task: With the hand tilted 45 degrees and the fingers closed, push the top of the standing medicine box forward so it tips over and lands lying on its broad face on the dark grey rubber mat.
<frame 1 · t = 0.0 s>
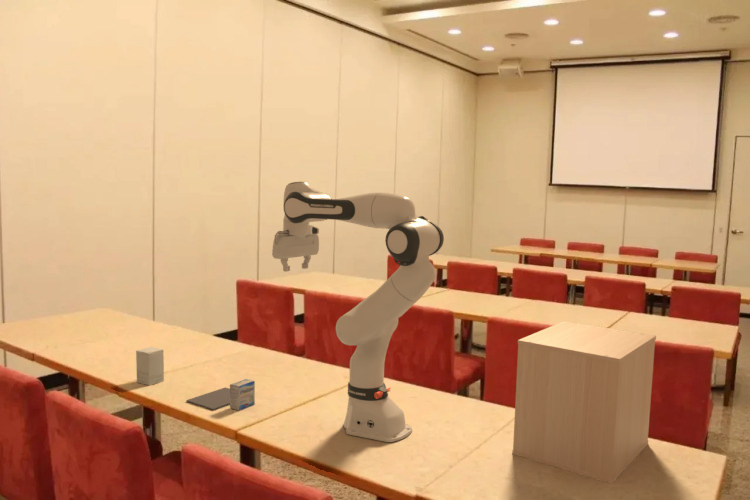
hand: (295, 269, 221), 48 cm above the table, tool pointing down, fingers open, 8 cm apart
medicine box: (242, 407, 224), on the table
supplement box: (150, 382, 248), on the table
cabinet: (581, 449, 196), on the table
mat: (219, 399, 231), on the table
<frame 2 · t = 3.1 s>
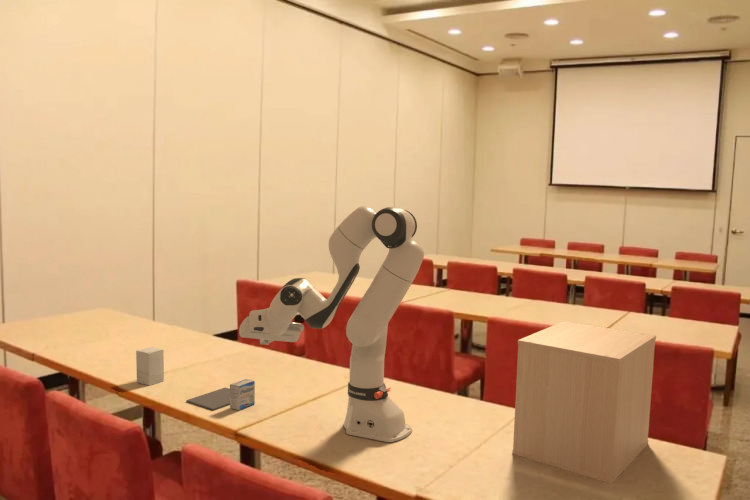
hand: (263, 342, 221), 23 cm above the table, tool tilted 45°, fingers closed
nothing on the table moved.
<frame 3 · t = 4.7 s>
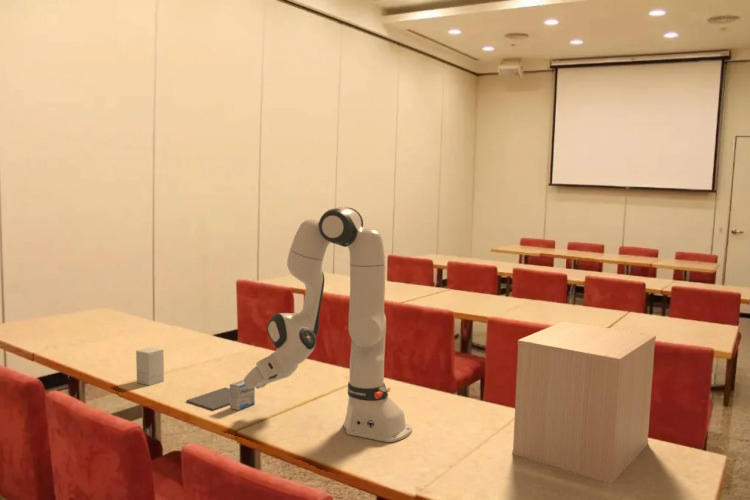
hand: (258, 386, 218), 9 cm above the table, tool tilted 45°, fingers closed
nothing on the table moved.
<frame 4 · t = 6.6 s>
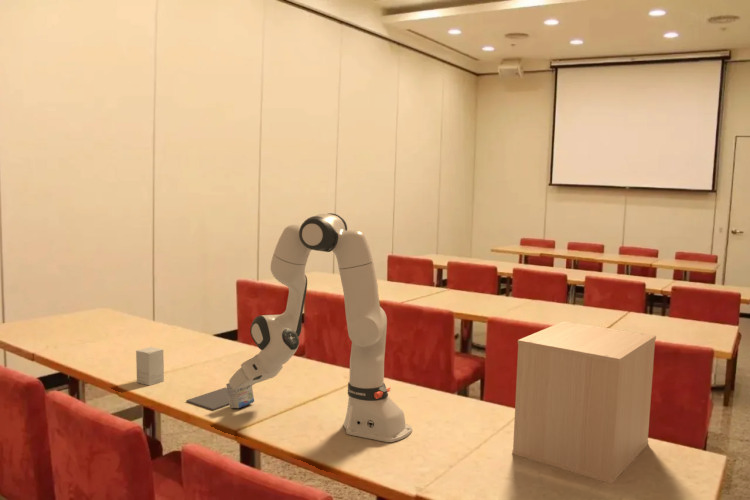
hand: (244, 387, 223), 7 cm above the table, tool tilted 45°, fingers closed
medicine box: (242, 405, 224), on the table, touching gripper
everything else where it was.
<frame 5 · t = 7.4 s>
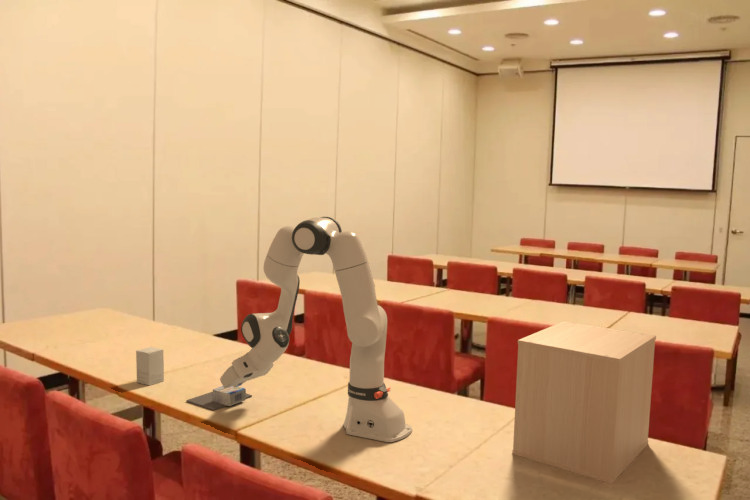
hand: (236, 384, 225), 7 cm above the table, tool tilted 45°, fingers closed
medicine box: (238, 397, 225), point 3 cm above the table, touching mat
everything else where it was.
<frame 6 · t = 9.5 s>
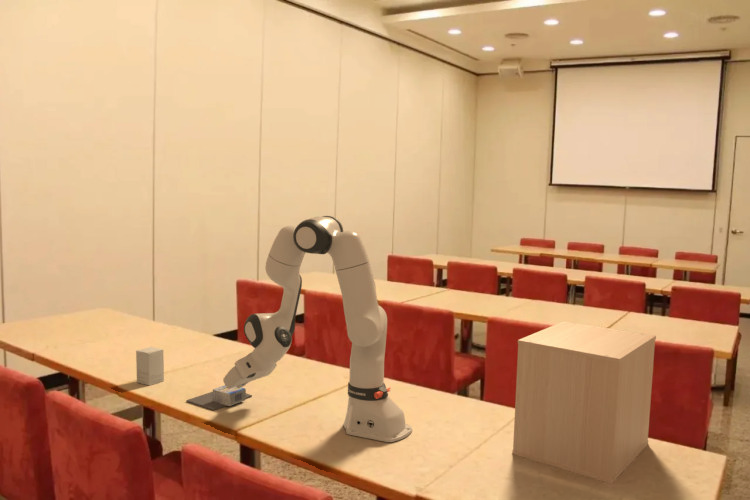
hand: (239, 385, 225), 7 cm above the table, tool tilted 45°, fingers closed
nothing on the table moved.
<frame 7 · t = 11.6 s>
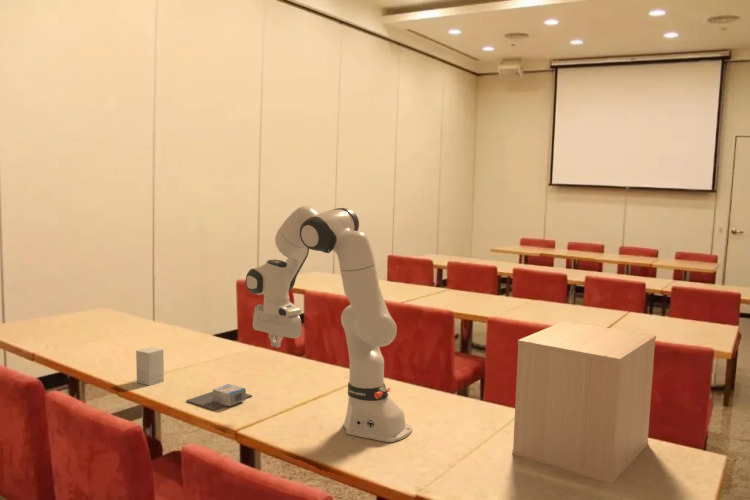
hand: (275, 346, 224), 21 cm above the table, tool pointing down, fingers closed
nothing on the table moved.
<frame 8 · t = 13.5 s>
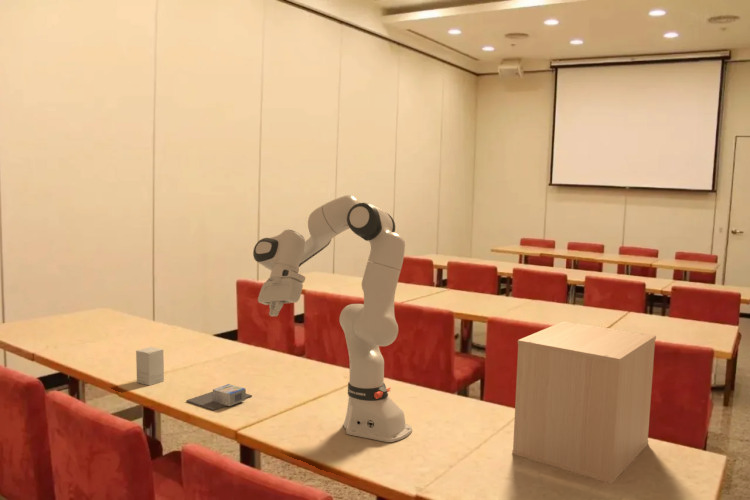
hand: (273, 315, 213), 34 cm above the table, tool tilted 25°, fingers closed
nothing on the table moved.
at the end: medicine box tilted 89°; medicine box inside the target area (8.2 cm from its centre), point 2.7 cm above the table; medicine box moved 3.3 cm from its start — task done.
